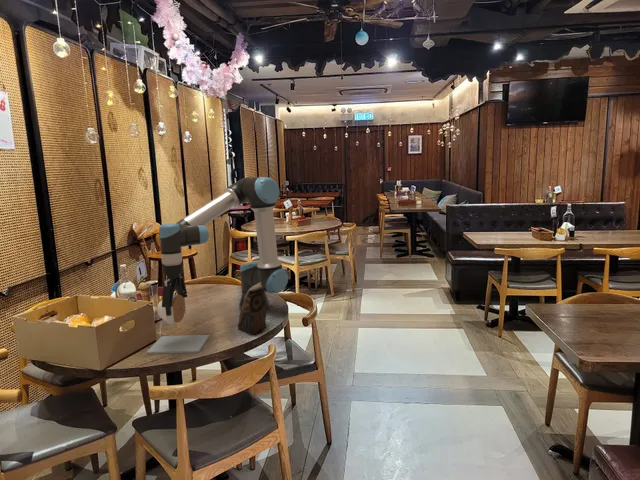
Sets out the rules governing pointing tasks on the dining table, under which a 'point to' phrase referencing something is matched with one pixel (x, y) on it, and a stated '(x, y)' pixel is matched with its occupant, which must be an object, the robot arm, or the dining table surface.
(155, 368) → the dining table surface
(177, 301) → the lidded jar
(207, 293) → the dining table surface
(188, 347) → the mat
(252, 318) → the owl
